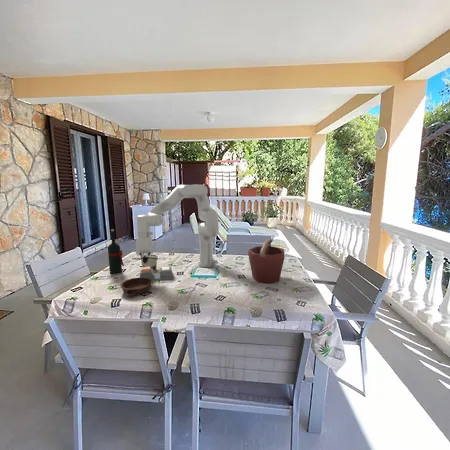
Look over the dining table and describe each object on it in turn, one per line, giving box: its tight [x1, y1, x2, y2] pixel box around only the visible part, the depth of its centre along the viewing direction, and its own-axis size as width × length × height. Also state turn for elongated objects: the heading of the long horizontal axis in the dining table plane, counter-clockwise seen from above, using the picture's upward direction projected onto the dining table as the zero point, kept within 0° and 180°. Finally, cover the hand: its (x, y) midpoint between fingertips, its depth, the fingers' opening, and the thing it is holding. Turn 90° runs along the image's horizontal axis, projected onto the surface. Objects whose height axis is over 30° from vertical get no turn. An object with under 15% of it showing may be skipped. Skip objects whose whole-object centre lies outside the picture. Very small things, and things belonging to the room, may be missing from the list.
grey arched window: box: [140, 254, 159, 272], centre depth 183 cm, size 12×6×10 cm, turn 84°
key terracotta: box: [141, 266, 151, 273], centre depth 165 cm, size 5×5×3 cm
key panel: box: [138, 266, 174, 281], centre depth 167 cm, size 21×10×5 cm, turn 105°
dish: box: [119, 276, 154, 298], centre depth 147 cm, size 18×22×5 cm
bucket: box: [247, 238, 285, 285], centre depth 162 cm, size 24×22×25 cm
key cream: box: [160, 266, 170, 271], centre depth 169 cm, size 5×5×3 cm
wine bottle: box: [107, 229, 125, 275], centre depth 175 cm, size 8×10×30 cm
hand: (145, 262), depth 164 cm, fingers closed
